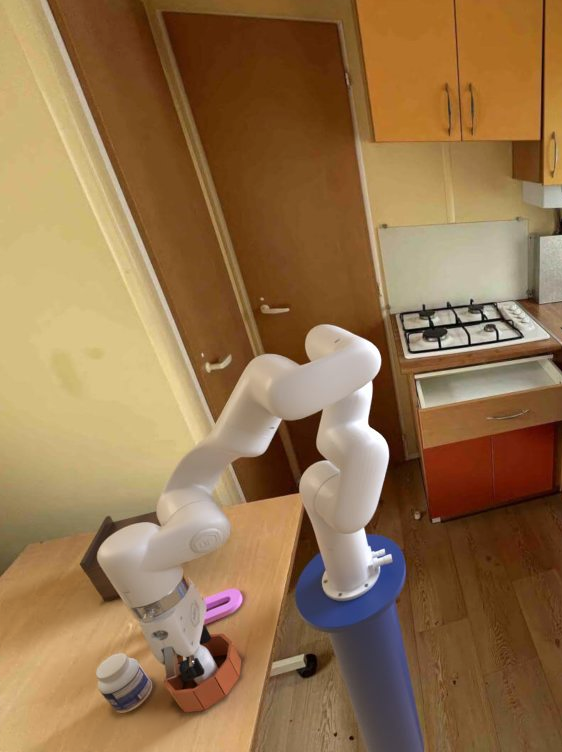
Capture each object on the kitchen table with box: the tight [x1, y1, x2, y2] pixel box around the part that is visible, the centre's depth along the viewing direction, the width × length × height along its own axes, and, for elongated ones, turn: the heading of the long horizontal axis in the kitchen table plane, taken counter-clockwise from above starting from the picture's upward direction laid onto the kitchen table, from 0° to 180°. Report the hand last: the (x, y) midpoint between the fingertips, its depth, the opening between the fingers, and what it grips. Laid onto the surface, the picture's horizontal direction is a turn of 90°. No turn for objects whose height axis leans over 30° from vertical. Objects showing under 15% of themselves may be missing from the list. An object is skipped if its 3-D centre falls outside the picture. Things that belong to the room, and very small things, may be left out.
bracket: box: [203, 588, 243, 626], centre depth 88 cm, size 13×6×7 cm, turn 119°
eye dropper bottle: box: [183, 643, 220, 687], centre depth 75 cm, size 4×6×12 cm
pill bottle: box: [95, 652, 153, 714], centre depth 73 cm, size 5×5×10 cm
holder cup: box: [163, 632, 242, 713], centre depth 76 cm, size 10×10×6 cm
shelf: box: [79, 511, 161, 602], centre depth 97 cm, size 12×14×12 cm
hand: (197, 658), depth 75 cm, fingers closed on eye dropper bottle, 5 cm apart
